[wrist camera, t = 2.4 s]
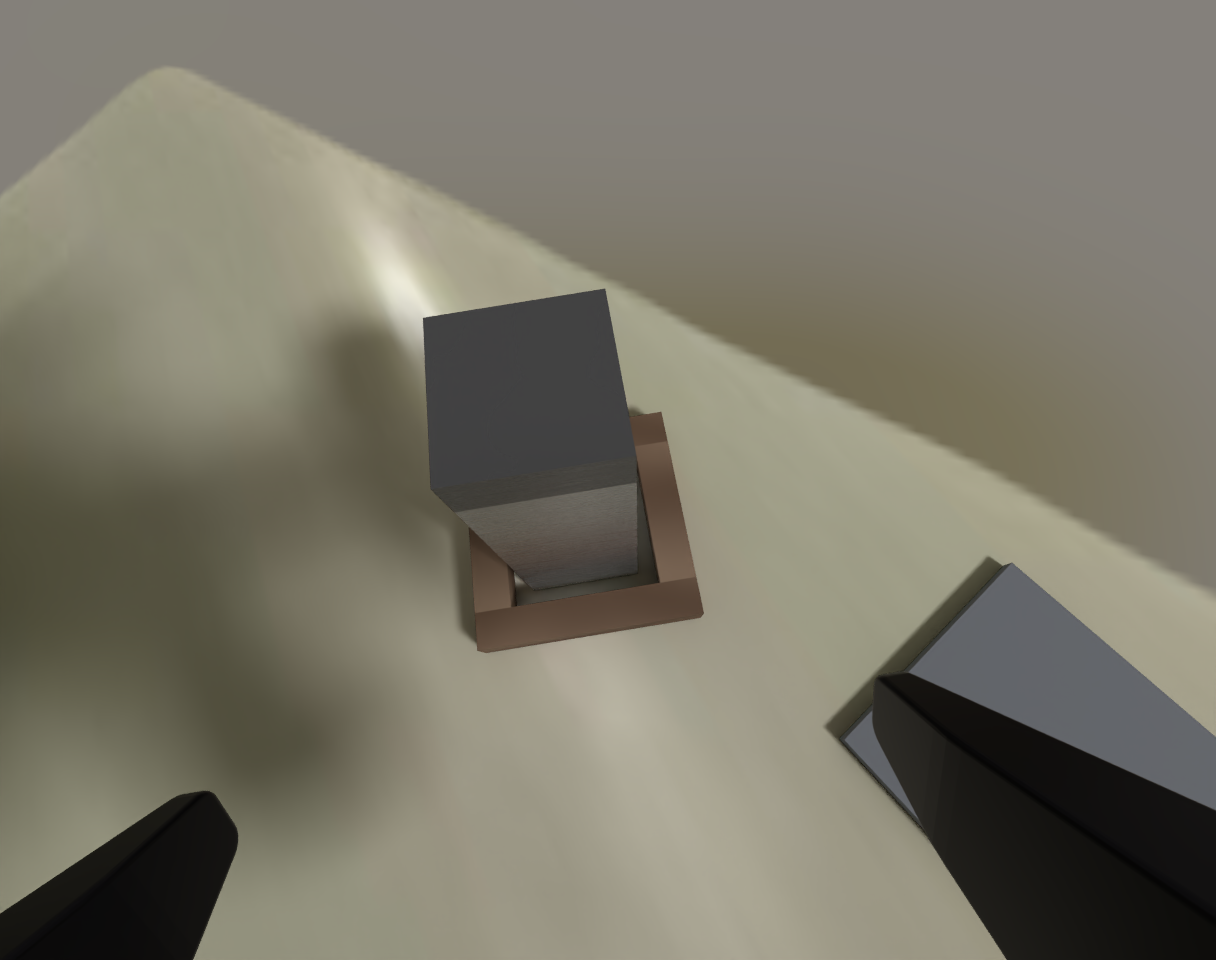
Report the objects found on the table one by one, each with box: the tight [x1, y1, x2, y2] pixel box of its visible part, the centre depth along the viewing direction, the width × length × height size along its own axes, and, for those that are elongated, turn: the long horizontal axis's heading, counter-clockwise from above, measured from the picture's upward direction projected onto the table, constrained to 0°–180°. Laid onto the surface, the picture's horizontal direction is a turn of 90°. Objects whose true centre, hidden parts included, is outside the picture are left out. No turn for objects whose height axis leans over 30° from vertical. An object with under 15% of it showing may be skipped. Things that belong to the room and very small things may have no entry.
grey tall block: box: [423, 289, 638, 590], centre depth 17 cm, size 4×4×12 cm
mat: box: [840, 563, 1216, 828], centre depth 19 cm, size 9×9×1 cm
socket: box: [469, 412, 704, 653], centre depth 22 cm, size 8×8×1 cm
